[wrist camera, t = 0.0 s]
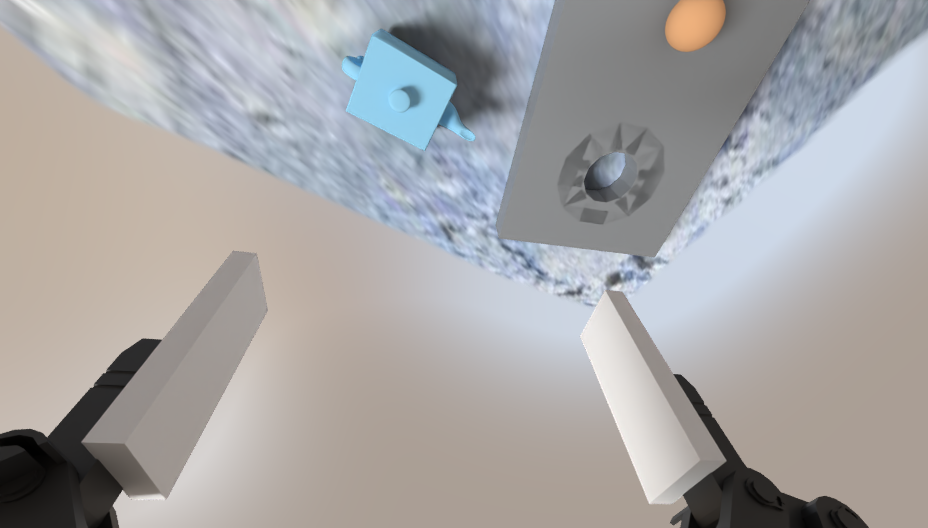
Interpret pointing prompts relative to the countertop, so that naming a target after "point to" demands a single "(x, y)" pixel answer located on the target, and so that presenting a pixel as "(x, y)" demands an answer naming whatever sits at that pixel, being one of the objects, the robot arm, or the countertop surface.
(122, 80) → the countertop surface
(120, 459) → the robot arm
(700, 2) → the ball
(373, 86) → the light blue teapot
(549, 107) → the plate
